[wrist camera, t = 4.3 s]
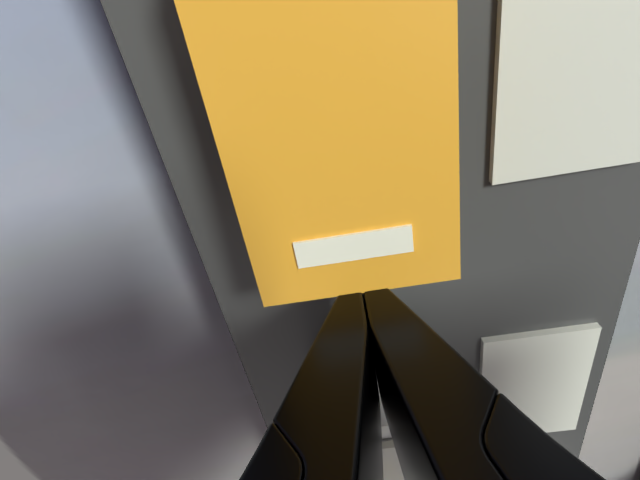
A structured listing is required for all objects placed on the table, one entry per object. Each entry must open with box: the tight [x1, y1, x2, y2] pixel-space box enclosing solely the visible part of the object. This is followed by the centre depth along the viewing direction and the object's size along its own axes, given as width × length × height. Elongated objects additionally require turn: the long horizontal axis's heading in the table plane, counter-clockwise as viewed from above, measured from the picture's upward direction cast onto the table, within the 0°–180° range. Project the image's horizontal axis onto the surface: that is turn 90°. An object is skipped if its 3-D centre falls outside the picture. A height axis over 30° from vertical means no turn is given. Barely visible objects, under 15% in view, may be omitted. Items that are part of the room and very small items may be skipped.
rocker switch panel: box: [100, 0, 640, 458], centre depth 11 cm, size 20×10×4 cm, turn 10°
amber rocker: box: [174, 0, 461, 307], centre depth 7 cm, size 6×4×1 cm, turn 10°
